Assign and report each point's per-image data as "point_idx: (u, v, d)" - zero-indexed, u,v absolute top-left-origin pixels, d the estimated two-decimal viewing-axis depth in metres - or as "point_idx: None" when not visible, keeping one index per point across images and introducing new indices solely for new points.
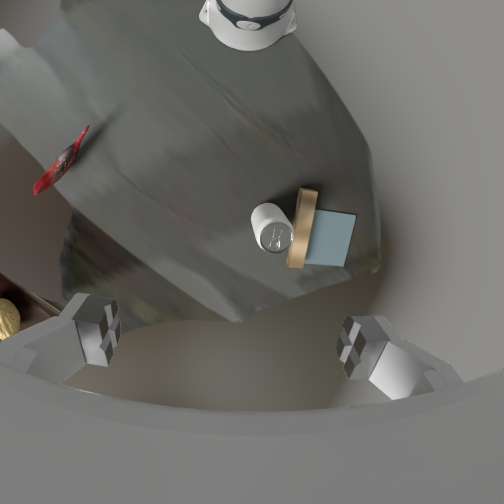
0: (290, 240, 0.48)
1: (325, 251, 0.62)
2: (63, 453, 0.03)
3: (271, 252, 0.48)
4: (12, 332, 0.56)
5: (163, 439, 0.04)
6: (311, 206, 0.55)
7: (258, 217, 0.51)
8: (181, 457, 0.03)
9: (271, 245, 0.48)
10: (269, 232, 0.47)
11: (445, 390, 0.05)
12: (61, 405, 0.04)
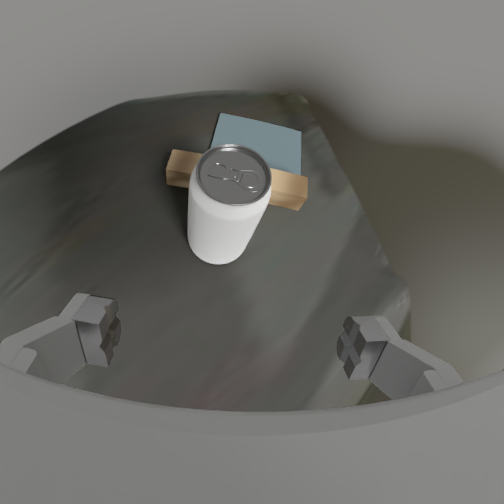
0: (240, 151, 0.22)
1: (278, 152, 0.37)
2: (63, 453, 0.03)
3: (267, 185, 0.21)
4: None
5: (163, 439, 0.04)
6: (196, 158, 0.31)
7: (199, 230, 0.24)
8: (181, 457, 0.03)
9: (251, 185, 0.21)
10: (219, 186, 0.20)
11: (445, 390, 0.05)
12: (61, 405, 0.04)
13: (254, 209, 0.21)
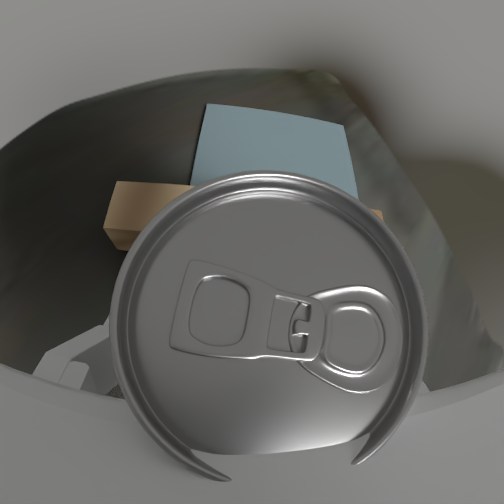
0: (298, 199, 0.06)
1: (316, 162, 0.21)
2: (63, 453, 0.03)
3: (416, 346, 0.05)
4: None
5: None
6: (162, 196, 0.15)
7: None
8: None
9: (363, 360, 0.05)
10: (236, 402, 0.04)
11: (445, 390, 0.05)
12: (62, 405, 0.04)
13: None
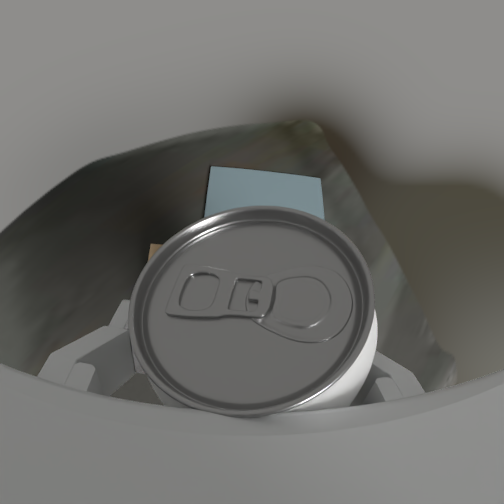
0: (260, 223, 0.08)
1: None
2: (63, 453, 0.03)
3: (365, 302, 0.06)
4: None
5: (163, 439, 0.04)
6: None
7: None
8: (181, 457, 0.03)
9: (310, 316, 0.06)
10: (204, 347, 0.06)
11: (445, 390, 0.05)
12: (61, 405, 0.04)
13: (339, 395, 0.05)
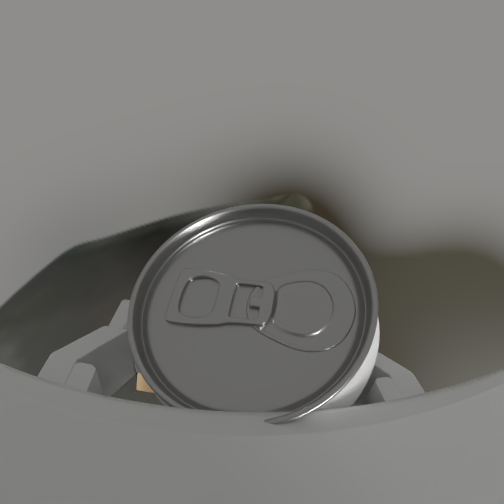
0: (260, 222, 0.08)
1: None
2: (63, 453, 0.03)
3: (368, 310, 0.06)
4: None
5: (163, 439, 0.04)
6: None
7: None
8: (181, 457, 0.03)
9: (313, 324, 0.06)
10: (205, 356, 0.06)
11: (445, 390, 0.05)
12: (61, 405, 0.04)
13: (340, 402, 0.05)
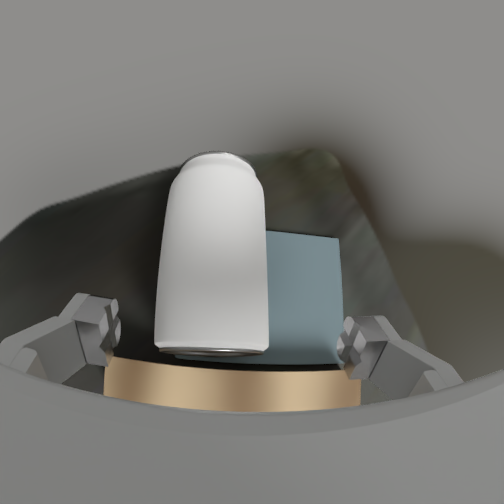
0: None
1: (304, 299, 0.21)
2: (63, 453, 0.03)
3: (216, 154, 0.18)
4: None
5: (163, 439, 0.04)
6: (151, 376, 0.15)
7: None
8: (181, 457, 0.03)
9: None
10: None
11: (445, 390, 0.05)
12: (62, 405, 0.04)
13: (186, 167, 0.18)
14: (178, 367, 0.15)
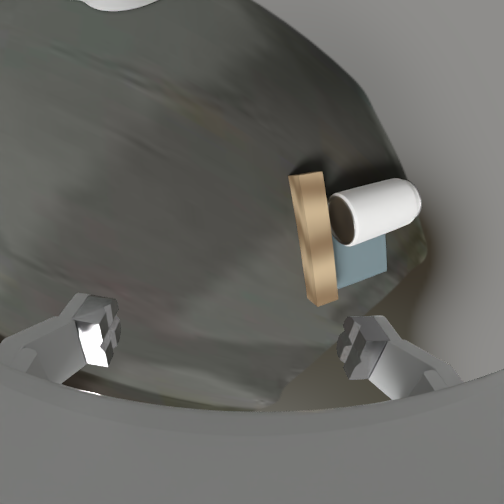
0: None
1: (358, 260, 0.38)
2: (63, 453, 0.03)
3: (418, 196, 0.33)
4: None
5: (163, 439, 0.04)
6: (320, 197, 0.32)
7: None
8: (181, 457, 0.03)
9: None
10: None
11: (445, 390, 0.05)
12: (61, 405, 0.04)
13: (409, 184, 0.33)
14: (327, 210, 0.33)
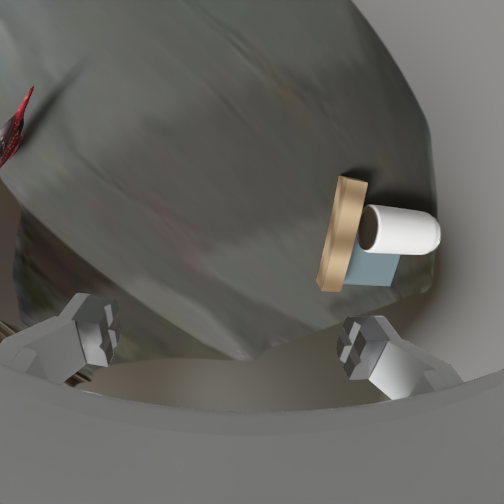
0: None
1: (369, 267, 0.43)
2: (63, 453, 0.03)
3: (439, 235, 0.36)
4: None
5: (163, 439, 0.04)
6: (357, 203, 0.36)
7: None
8: (181, 457, 0.03)
9: None
10: None
11: (445, 390, 0.05)
12: (61, 405, 0.04)
13: (435, 222, 0.35)
14: (360, 215, 0.36)
